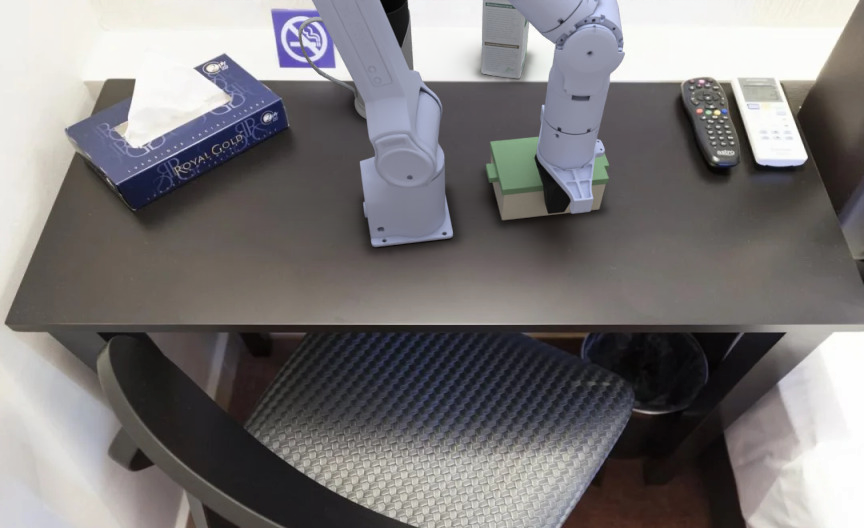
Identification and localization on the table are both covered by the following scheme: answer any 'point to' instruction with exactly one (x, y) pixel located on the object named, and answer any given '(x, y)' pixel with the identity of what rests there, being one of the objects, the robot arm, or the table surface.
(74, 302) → the table surface
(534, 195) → the lunchbox
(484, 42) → the syrup box
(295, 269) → the table surface
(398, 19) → the glass holder
